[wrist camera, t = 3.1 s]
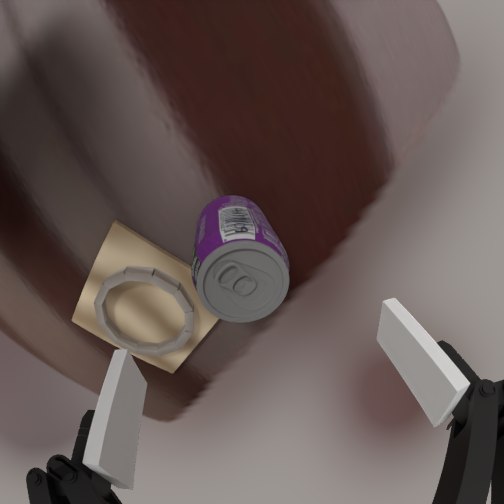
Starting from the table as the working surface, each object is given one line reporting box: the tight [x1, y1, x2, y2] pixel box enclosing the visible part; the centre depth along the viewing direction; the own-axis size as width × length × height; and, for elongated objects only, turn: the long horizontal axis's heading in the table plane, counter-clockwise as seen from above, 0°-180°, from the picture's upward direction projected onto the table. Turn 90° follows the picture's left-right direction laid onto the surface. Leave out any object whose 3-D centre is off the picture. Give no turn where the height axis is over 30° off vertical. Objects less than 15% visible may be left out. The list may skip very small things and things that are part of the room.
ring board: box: [72, 220, 219, 373], centre depth 31 cm, size 16×16×2 cm
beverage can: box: [191, 195, 289, 323], centre depth 24 cm, size 7×7×12 cm
